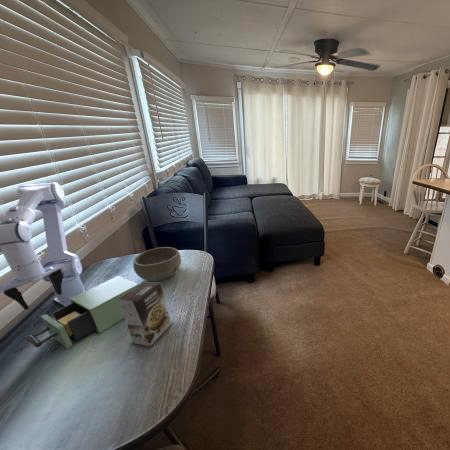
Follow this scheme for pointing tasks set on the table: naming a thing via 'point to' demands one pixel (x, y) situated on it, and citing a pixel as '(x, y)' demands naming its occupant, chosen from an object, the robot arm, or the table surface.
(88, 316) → the drawer
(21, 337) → the table surface
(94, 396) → the table surface
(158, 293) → the brown food box
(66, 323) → the block
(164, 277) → the bowl
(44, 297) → the table surface
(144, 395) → the table surface
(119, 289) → the pale mint box
